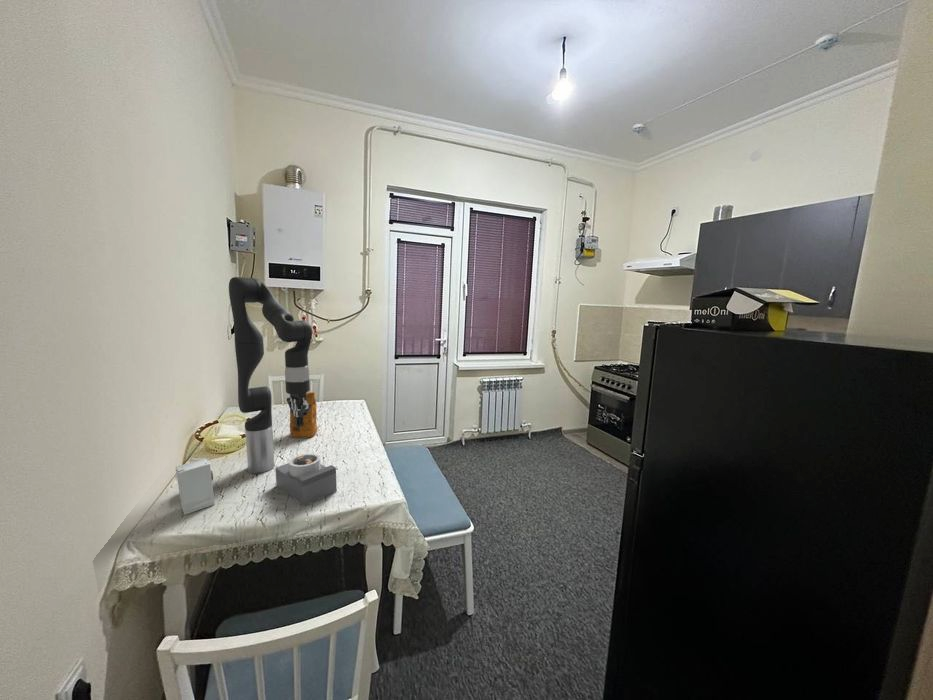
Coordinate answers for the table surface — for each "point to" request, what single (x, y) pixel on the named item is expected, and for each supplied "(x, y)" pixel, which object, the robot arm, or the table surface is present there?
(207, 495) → the skincare box
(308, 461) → the grey dome
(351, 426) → the table surface
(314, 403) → the coffee package
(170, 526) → the table surface
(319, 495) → the camera body
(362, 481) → the table surface
